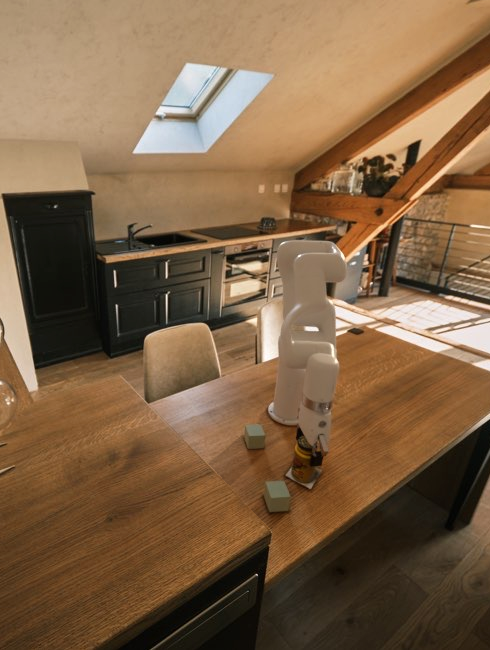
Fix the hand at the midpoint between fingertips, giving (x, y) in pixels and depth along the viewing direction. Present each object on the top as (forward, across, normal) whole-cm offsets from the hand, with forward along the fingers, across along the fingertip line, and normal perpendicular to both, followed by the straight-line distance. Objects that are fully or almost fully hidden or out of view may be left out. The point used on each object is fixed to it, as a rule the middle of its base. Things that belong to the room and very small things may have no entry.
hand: (308, 452), depth 104 cm
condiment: (+8, 0, 0) cm, 8 cm away
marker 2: (+8, -9, +11) cm, 16 cm away
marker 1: (+8, +13, +11) cm, 19 cm away
